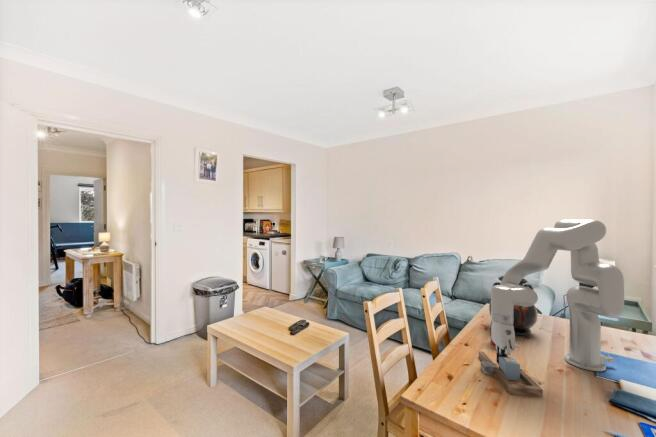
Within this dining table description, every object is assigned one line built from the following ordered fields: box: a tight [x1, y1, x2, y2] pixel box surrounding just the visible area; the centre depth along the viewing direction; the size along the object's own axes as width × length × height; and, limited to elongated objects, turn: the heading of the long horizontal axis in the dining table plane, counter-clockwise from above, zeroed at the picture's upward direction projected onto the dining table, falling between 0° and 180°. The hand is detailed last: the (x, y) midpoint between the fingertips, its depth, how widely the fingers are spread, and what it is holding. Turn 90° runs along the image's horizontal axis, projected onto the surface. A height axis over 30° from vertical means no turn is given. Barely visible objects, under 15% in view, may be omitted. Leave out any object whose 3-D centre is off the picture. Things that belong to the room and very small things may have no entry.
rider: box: [498, 356, 521, 382], centre depth 105 cm, size 5×5×6 cm
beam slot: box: [478, 350, 544, 398], centre depth 107 cm, size 13×26×3 cm, turn 173°
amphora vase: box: [488, 275, 538, 338], centre depth 148 cm, size 22×22×28 cm
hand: (501, 363), depth 111 cm, fingers closed
